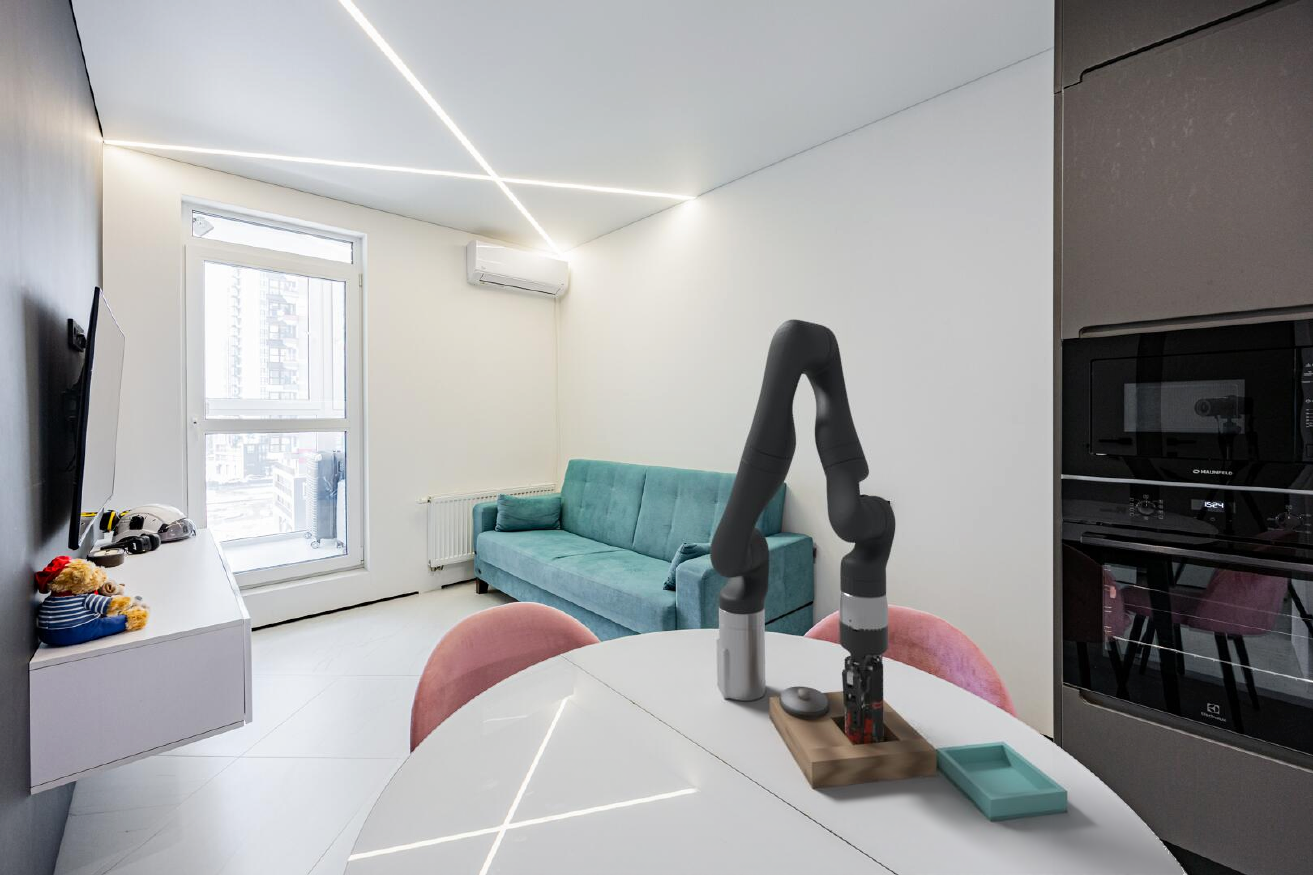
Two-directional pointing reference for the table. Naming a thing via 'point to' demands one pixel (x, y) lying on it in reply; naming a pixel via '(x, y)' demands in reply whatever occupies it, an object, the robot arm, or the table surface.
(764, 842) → the table surface
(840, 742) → the block
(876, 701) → the deodorant
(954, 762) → the tray
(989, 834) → the table surface
